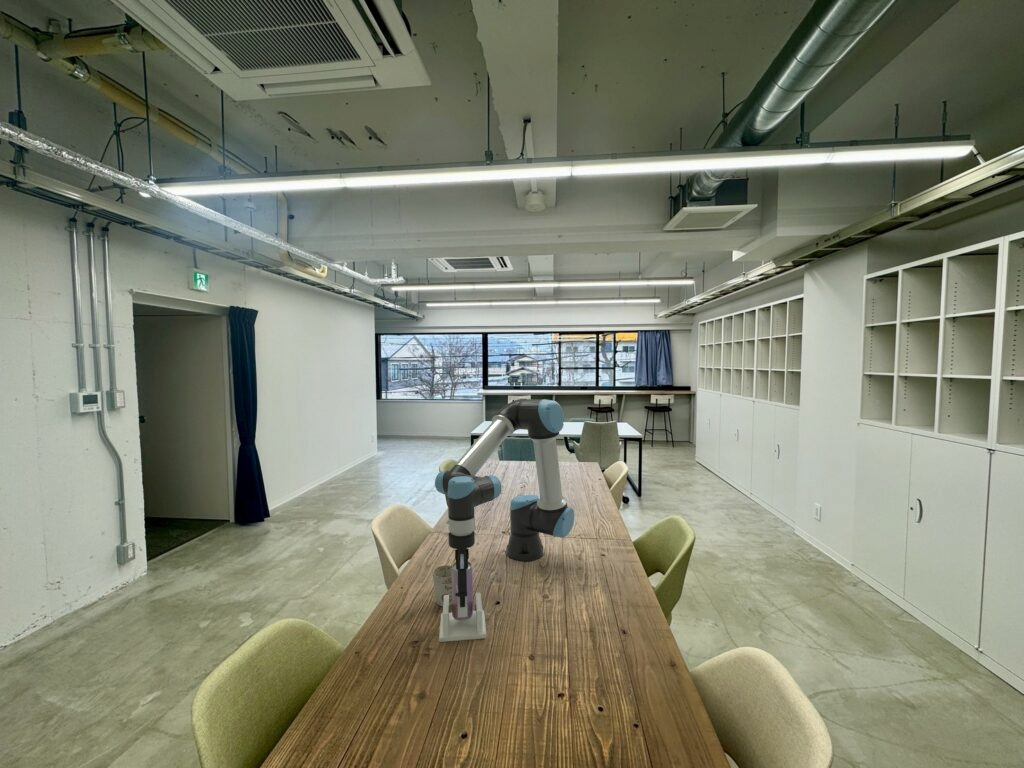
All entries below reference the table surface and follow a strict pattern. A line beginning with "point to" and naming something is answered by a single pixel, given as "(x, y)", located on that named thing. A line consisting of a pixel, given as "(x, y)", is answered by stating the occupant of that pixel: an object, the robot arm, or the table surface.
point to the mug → (443, 583)
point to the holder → (462, 623)
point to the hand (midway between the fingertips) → (462, 609)
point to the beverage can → (455, 590)
